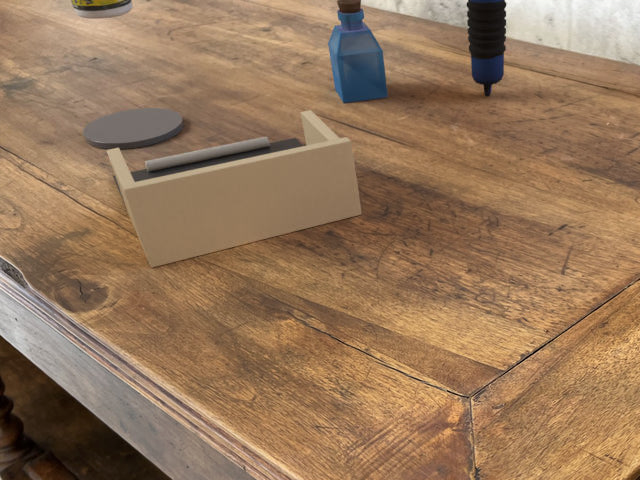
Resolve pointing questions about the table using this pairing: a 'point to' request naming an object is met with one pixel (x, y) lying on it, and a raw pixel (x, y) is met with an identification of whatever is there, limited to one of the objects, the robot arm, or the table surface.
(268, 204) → the shallow cardboard crate
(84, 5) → the pill bottle
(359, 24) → the perfume bottle
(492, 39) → the blue black cylinder
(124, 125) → the trivet
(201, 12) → the table surface
